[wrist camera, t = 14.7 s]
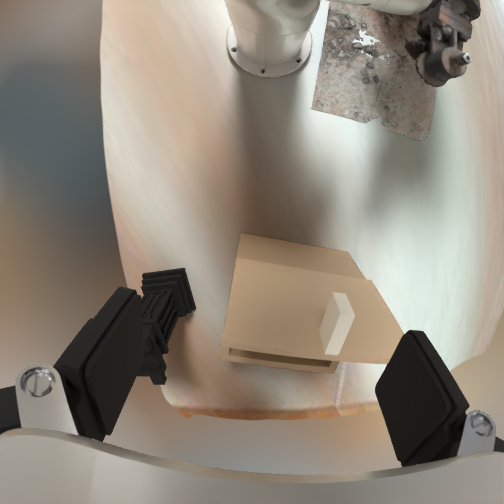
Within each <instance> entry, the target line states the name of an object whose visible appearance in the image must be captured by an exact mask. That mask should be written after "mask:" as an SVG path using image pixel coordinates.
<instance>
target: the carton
mask: <svg viewBox="0 0 504 504" xmlns="http://www.w3.org/2000/svg"><path fill="white" fill-rule="evenodd" d="M237 258H242V259H248V260H254V261H260V262H265V263H271V264H277V265H283V266H289V267H295V268H301V269H306V270H312V271H318V272H324V273H330V274H336V275H342V276H348V277H354V278H360V279H365V277H364V276H363V274H362V273H361V271H360V269H359V268H358V266H357V265H356V263H355V262H354V260H353V259H352V257H351V256H350V254H349V253H348V252H344V251H339V250H334V249H328V248H323V247H318V246H312V245H307V244H301V243H296V242H290V241H285V240H279V239H273V238H268V237H262V236H257V235H251V234H245V233H241V236H240V241H239V246H238V250H237V255H236V260H235V265H234V271H233V277H234V272H235V267H236V262H237ZM233 277H232V283H233ZM232 283H231V288H232ZM230 293H231V290H230ZM229 298H230V296H229ZM228 303H229V302H228ZM227 309H228V308H227ZM220 359H221V360H227V361H233V362H239V363H246V364H252V365H259V366H267V367H275V368H283V369H292V370H301V371H312V372H324V373H334V372H335V370H336V368H337V365H338V363H339V361H330V360H319V359H309V358H300V357H291V356H283V355H275V354H267V353H260V352H253V351H247V350H240V349H234V348H228V347H221V353H220Z"/></svg>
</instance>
